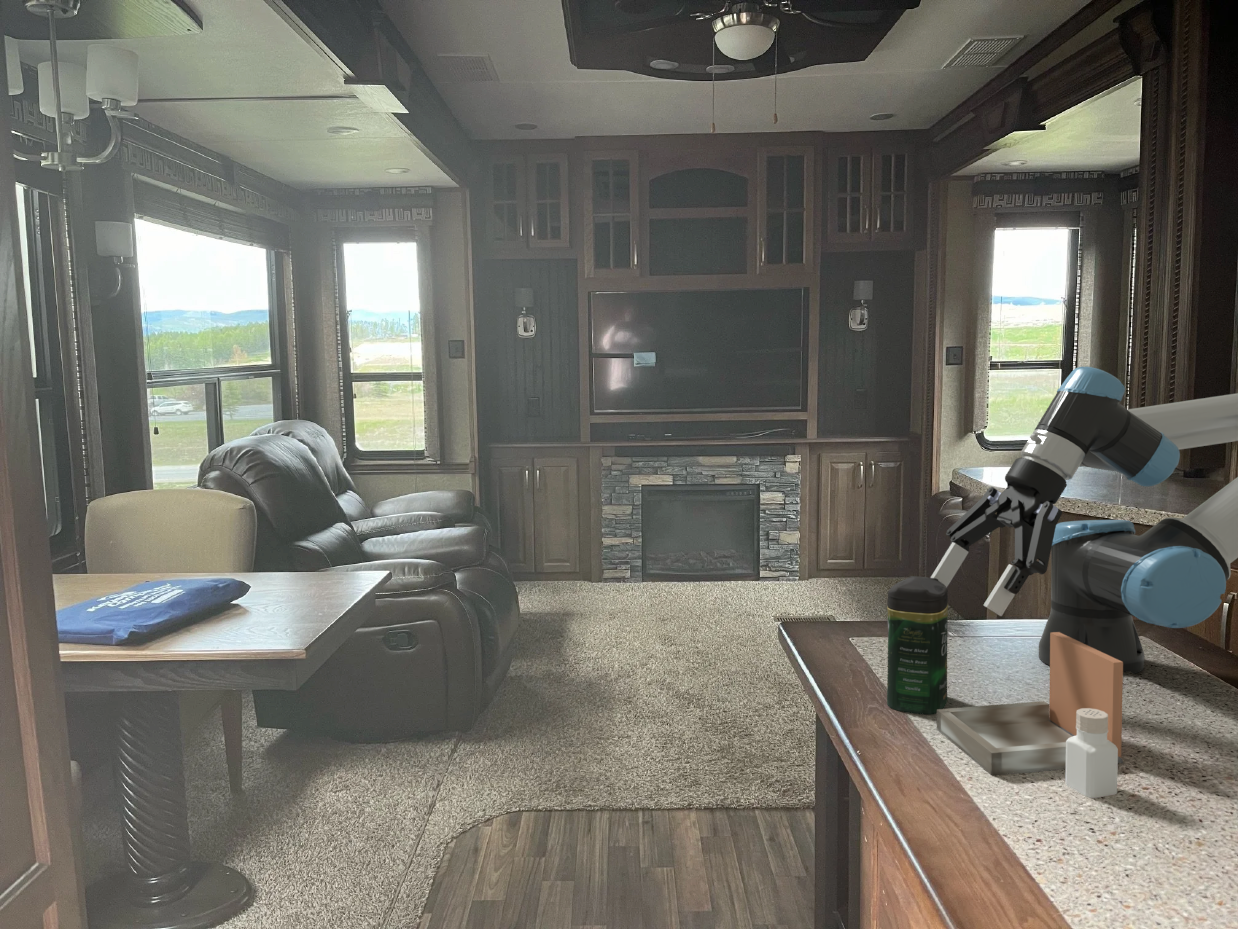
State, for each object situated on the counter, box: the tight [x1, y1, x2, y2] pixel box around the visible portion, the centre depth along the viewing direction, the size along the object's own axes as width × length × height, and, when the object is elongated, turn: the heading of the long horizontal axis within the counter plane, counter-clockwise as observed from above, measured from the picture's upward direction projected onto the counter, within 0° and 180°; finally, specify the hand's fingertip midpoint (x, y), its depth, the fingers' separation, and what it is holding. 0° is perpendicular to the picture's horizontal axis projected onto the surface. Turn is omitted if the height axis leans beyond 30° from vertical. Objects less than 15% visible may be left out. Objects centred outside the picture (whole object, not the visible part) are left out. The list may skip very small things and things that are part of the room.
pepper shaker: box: [1064, 708, 1119, 799], centre depth 101 cm, size 4×4×10 cm
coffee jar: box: [886, 575, 949, 716], centre depth 129 cm, size 10×8×19 cm
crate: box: [936, 700, 1073, 776], centre depth 113 cm, size 15×14×4 cm
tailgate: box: [1048, 632, 1124, 764], centre depth 114 cm, size 1×13×13 cm, turn 7°
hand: (963, 597), depth 128 cm, fingers open, 13 cm apart
